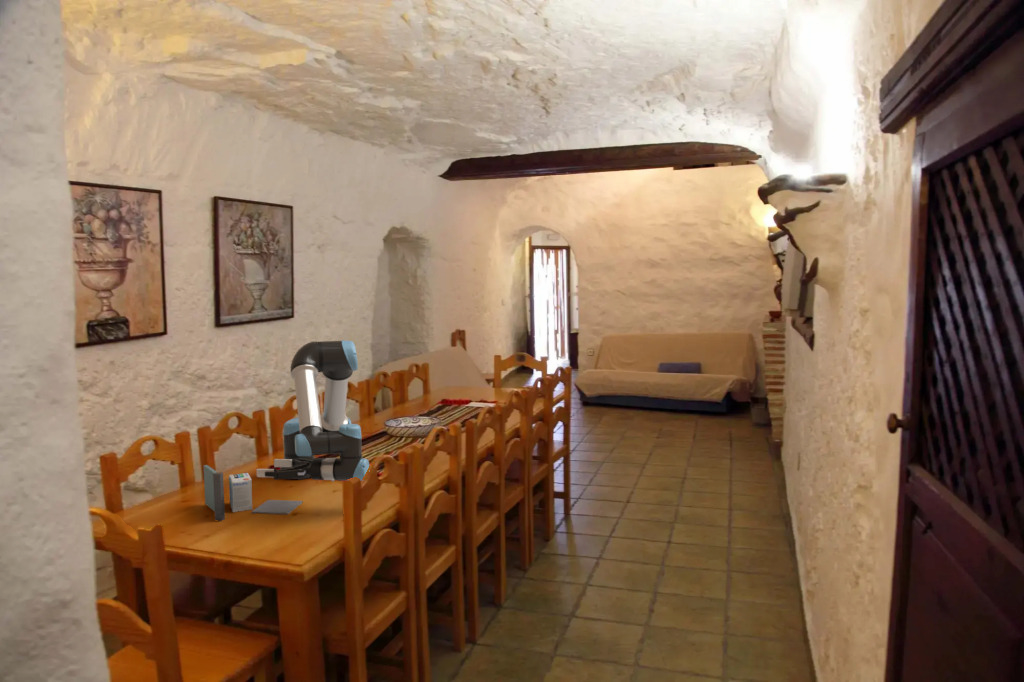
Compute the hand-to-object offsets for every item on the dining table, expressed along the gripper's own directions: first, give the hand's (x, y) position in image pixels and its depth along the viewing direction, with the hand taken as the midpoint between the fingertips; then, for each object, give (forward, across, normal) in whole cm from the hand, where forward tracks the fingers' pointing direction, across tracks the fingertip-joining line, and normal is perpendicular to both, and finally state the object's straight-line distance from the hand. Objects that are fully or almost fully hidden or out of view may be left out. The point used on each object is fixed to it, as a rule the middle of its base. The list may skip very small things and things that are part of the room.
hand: (265, 467), depth 251 cm
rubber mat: (-4, 0, -14) cm, 15 cm away
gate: (+17, -5, -14) cm, 22 cm away
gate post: (+10, -13, -14) cm, 22 cm away
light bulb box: (+10, 0, -15) cm, 18 cm away
